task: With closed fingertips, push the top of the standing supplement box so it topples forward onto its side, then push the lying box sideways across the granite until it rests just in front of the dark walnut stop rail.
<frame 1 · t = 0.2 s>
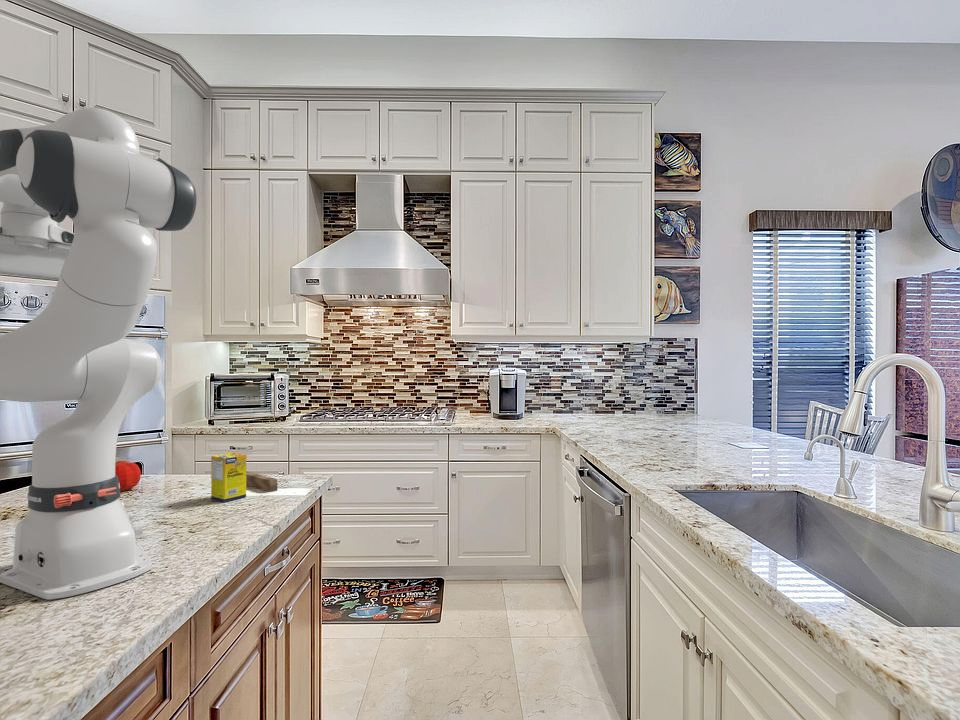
hand: (29, 298, 102), 48 cm above the countertop, tool pointing down, fingers open, 8 cm apart
supplement box: (228, 499, 124), on the countertop
walnut stop rail: (257, 486, 136), on the countertop
tomato: (116, 491, 131), on the countertop
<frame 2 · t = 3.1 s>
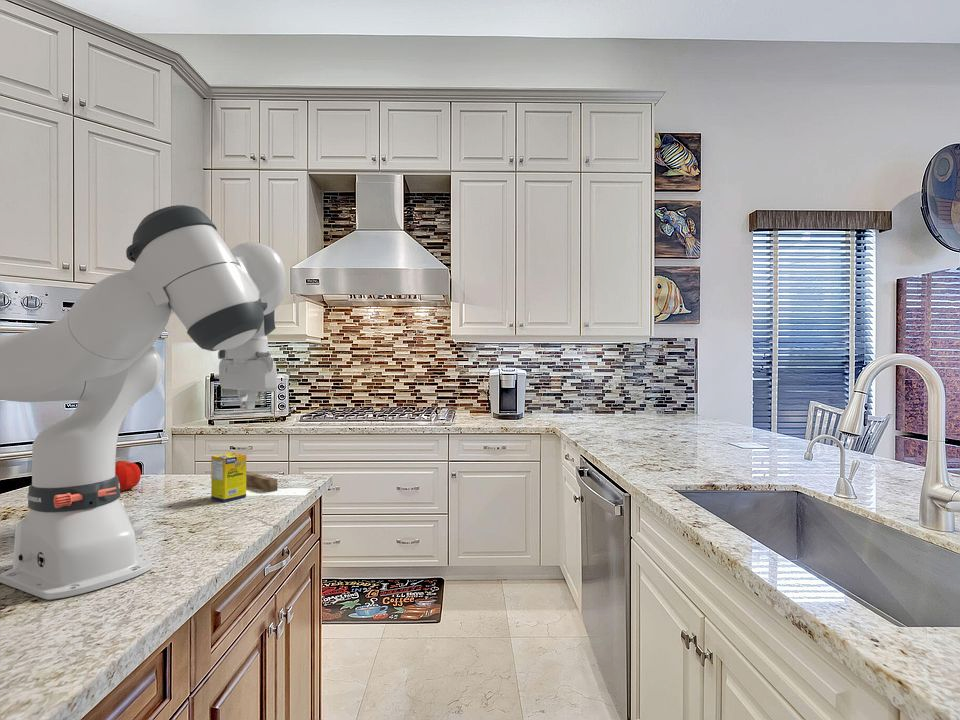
hand: (247, 409, 119), 23 cm above the countertop, tool pointing down, fingers closed
nothing on the countertop moved.
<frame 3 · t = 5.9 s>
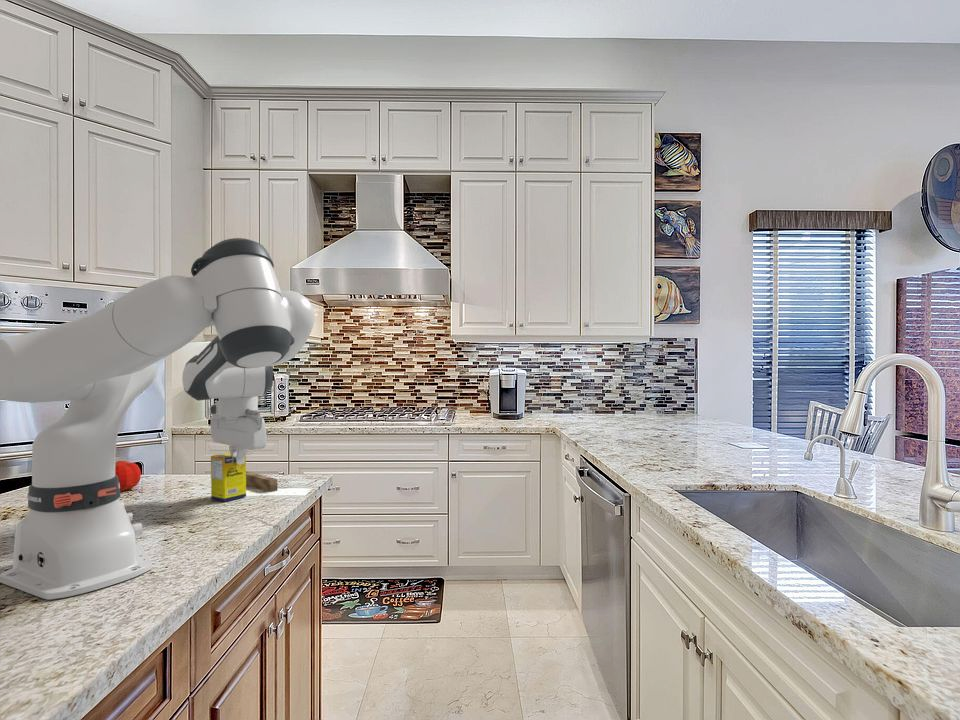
hand: (238, 463, 122), 9 cm above the countertop, tool pointing down, fingers closed
supplement box: (228, 498, 124), on the countertop, touching gripper
everything else where it was.
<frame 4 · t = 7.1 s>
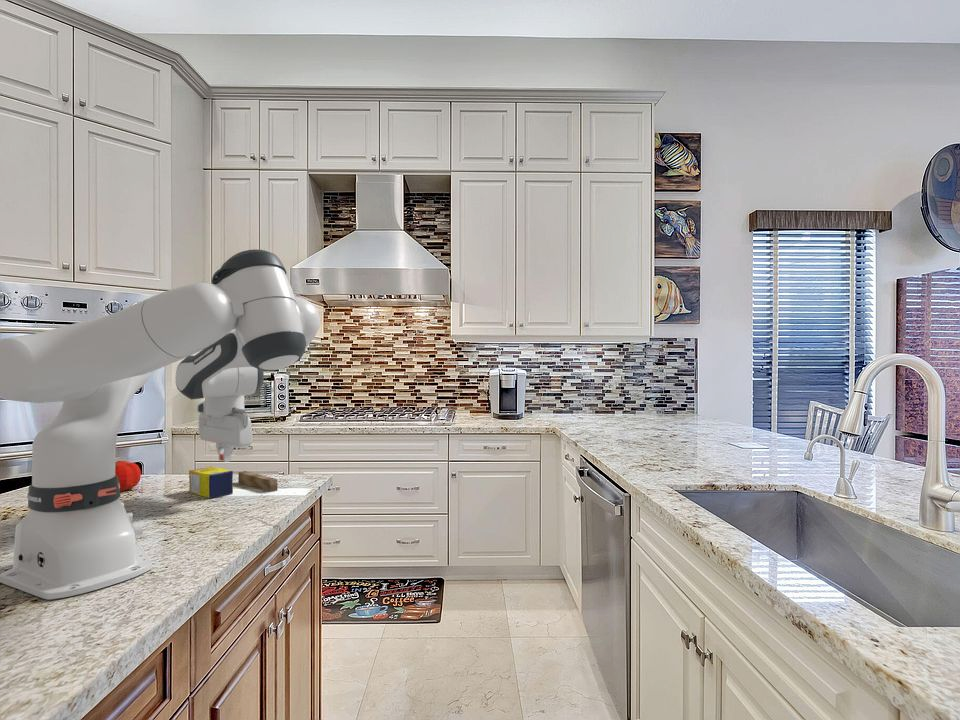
hand: (225, 460, 125), 9 cm above the countertop, tool pointing down, fingers closed
supplement box: (223, 484, 125), point 3 cm above the countertop
everything else where it was.
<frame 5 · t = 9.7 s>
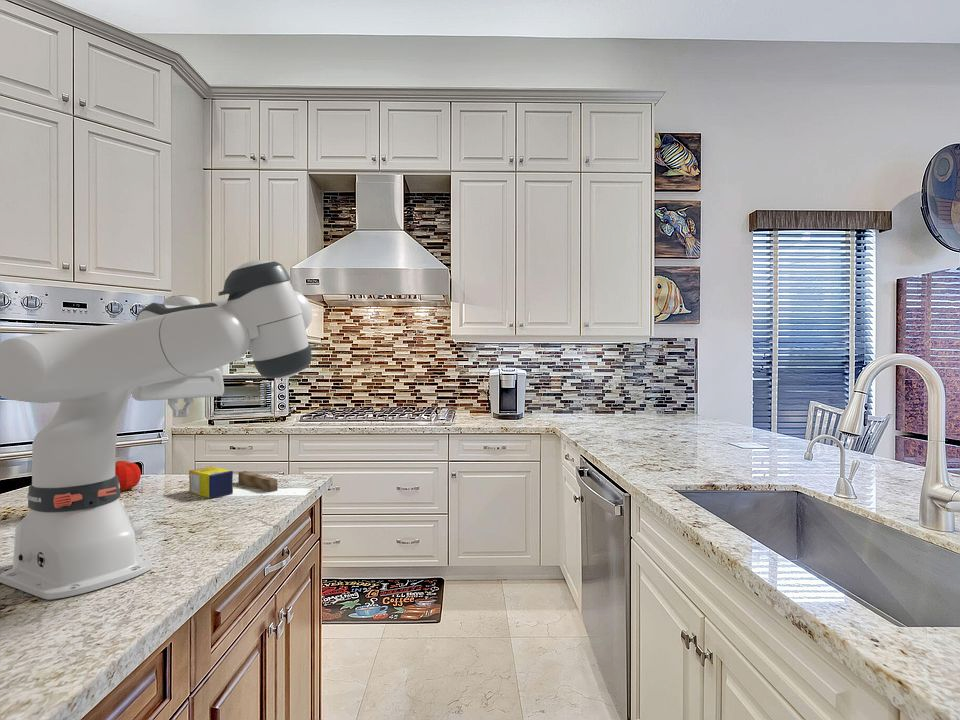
hand: (180, 416, 122), 21 cm above the countertop, tool pointing down, fingers closed
nothing on the countertop moved.
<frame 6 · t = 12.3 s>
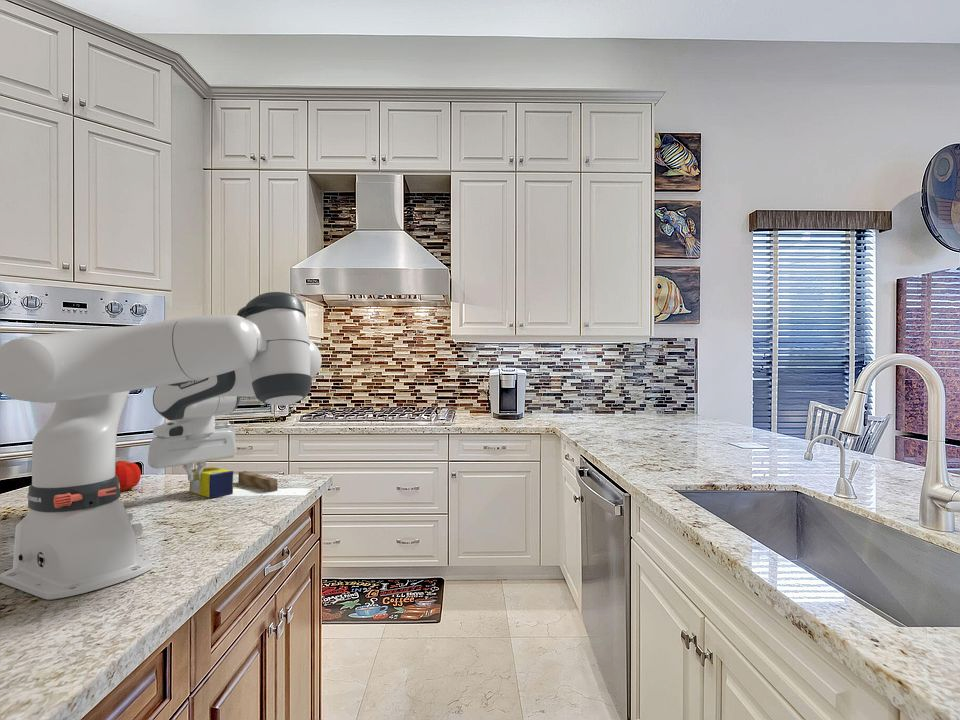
hand: (194, 480, 125), 4 cm above the countertop, tool pointing down, fingers closed
supplement box: (223, 484, 126), point 3 cm above the countertop, touching gripper
everything else where it was.
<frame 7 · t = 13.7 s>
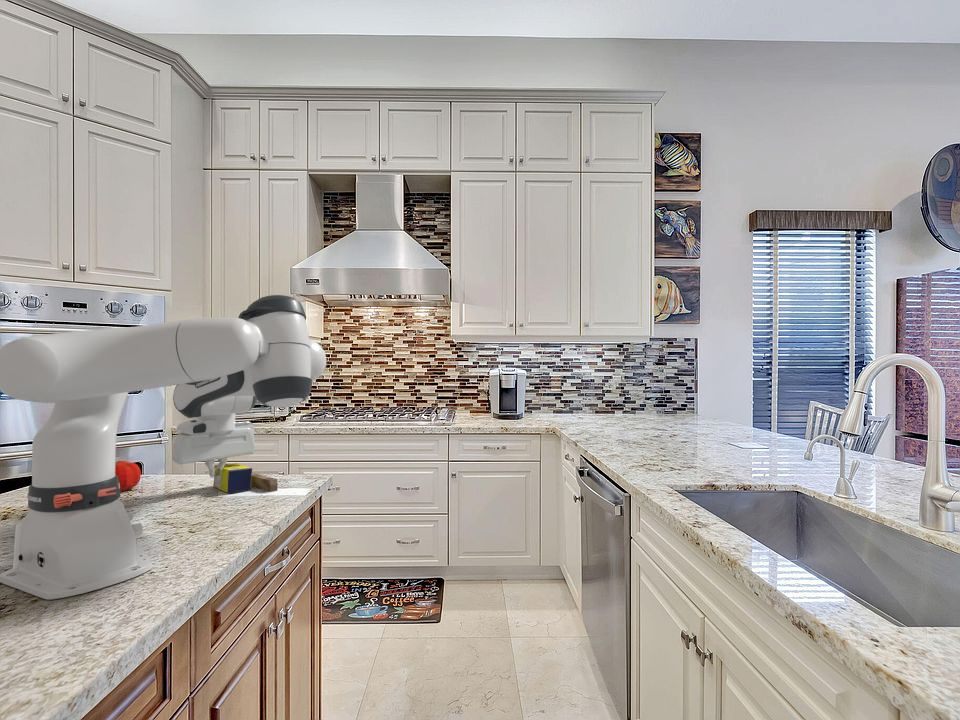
hand: (215, 475, 130), 4 cm above the countertop, tool pointing down, fingers closed
supplement box: (241, 481, 129), point 3 cm above the countertop, touching gripper
everything else where it was.
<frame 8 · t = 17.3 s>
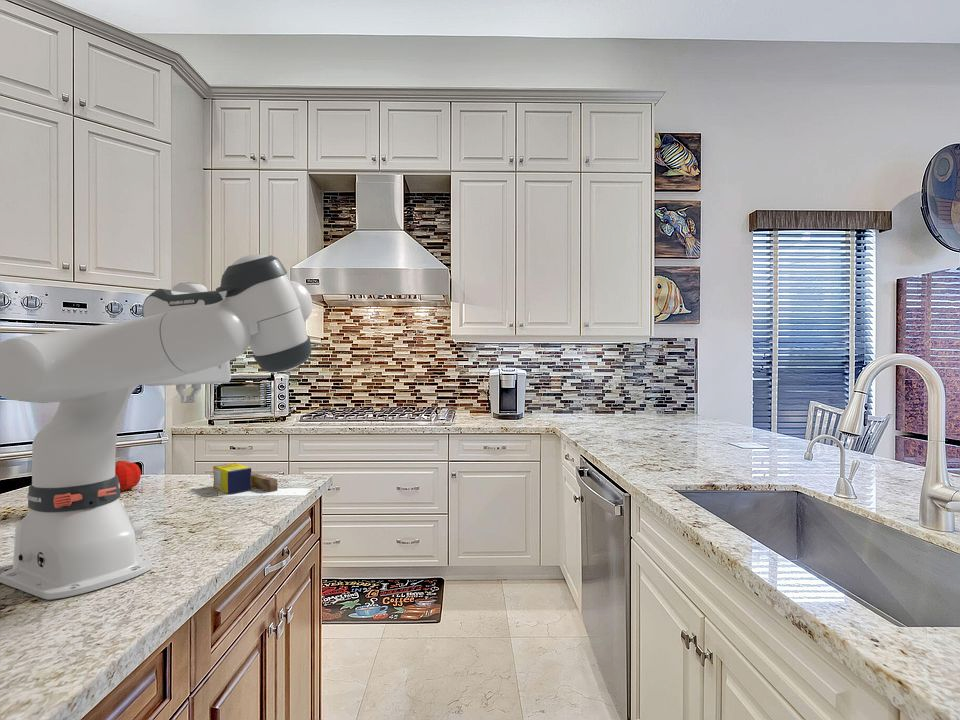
hand: (188, 402, 124), 24 cm above the countertop, tool pointing down, fingers closed
supplement box: (241, 481, 129), point 3 cm above the countertop
everything else where it was.
at the end: supplement box tilted 90°; supplement box inside the target area (2.8 cm from its centre), point 3.0 cm above the countertop; supplement box moved 6.0 cm from its start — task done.
